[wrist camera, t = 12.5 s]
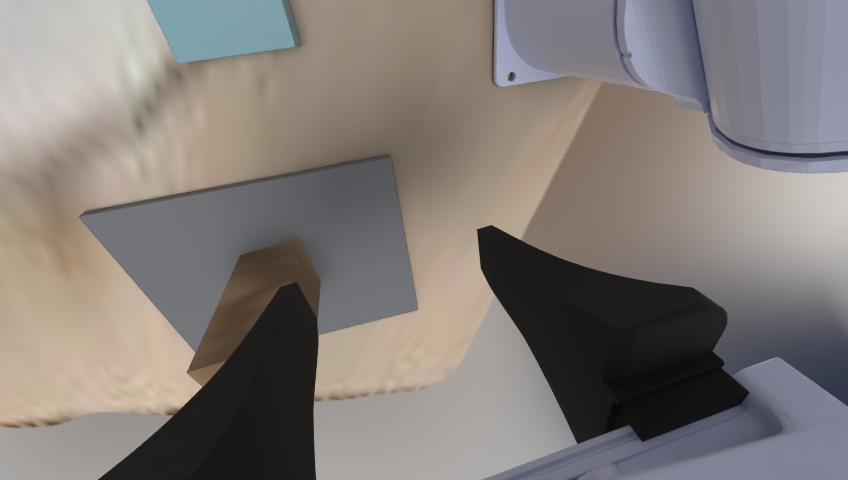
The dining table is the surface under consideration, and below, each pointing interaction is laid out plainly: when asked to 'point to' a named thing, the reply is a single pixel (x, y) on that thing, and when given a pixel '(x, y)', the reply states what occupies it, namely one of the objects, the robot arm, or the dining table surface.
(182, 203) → the rubber mat
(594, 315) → the robot arm
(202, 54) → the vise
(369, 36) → the dining table surface
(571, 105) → the dining table surface
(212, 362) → the walnut block
